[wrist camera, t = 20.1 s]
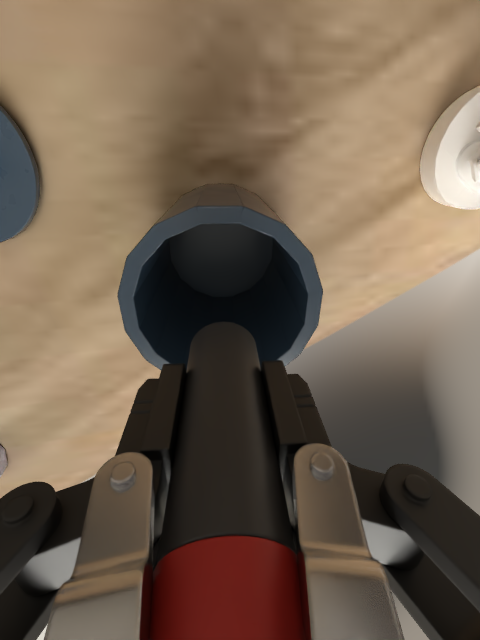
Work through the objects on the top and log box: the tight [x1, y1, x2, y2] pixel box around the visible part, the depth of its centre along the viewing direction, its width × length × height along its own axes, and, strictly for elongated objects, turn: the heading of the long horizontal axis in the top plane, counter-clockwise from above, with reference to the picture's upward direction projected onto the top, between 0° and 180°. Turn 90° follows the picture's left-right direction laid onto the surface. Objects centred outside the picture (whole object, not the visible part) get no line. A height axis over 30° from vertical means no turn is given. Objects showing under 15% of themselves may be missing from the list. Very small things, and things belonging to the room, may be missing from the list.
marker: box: [148, 322, 306, 640], centre depth 8 cm, size 3×3×10 cm
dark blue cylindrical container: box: [118, 184, 323, 371], centre depth 21 cm, size 11×11×12 cm
